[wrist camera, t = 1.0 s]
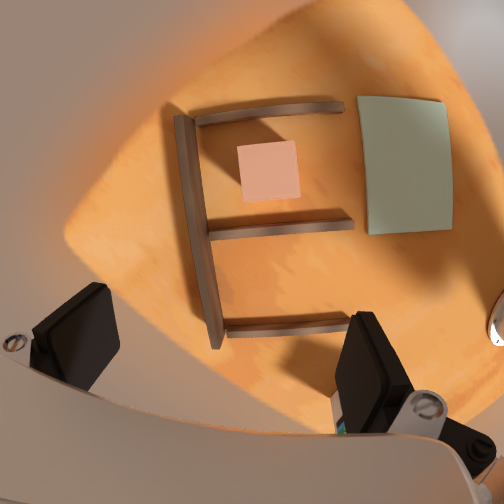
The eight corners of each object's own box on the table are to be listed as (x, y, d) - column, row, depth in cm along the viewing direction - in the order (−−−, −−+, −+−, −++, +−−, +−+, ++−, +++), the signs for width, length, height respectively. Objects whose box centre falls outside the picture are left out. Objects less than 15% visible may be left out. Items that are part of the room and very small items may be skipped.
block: (292, 146, 29) (295, 140, 23) (296, 190, 31) (300, 197, 24) (246, 150, 30) (236, 146, 23) (251, 194, 31) (243, 202, 25)
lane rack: (340, 104, 27) (348, 96, 23) (349, 324, 35) (355, 341, 31) (186, 121, 29) (173, 116, 26) (218, 332, 37) (211, 349, 33)
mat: (442, 103, 25) (445, 103, 24) (449, 228, 29) (451, 229, 29) (356, 96, 26) (357, 95, 26) (367, 233, 31) (368, 235, 30)
